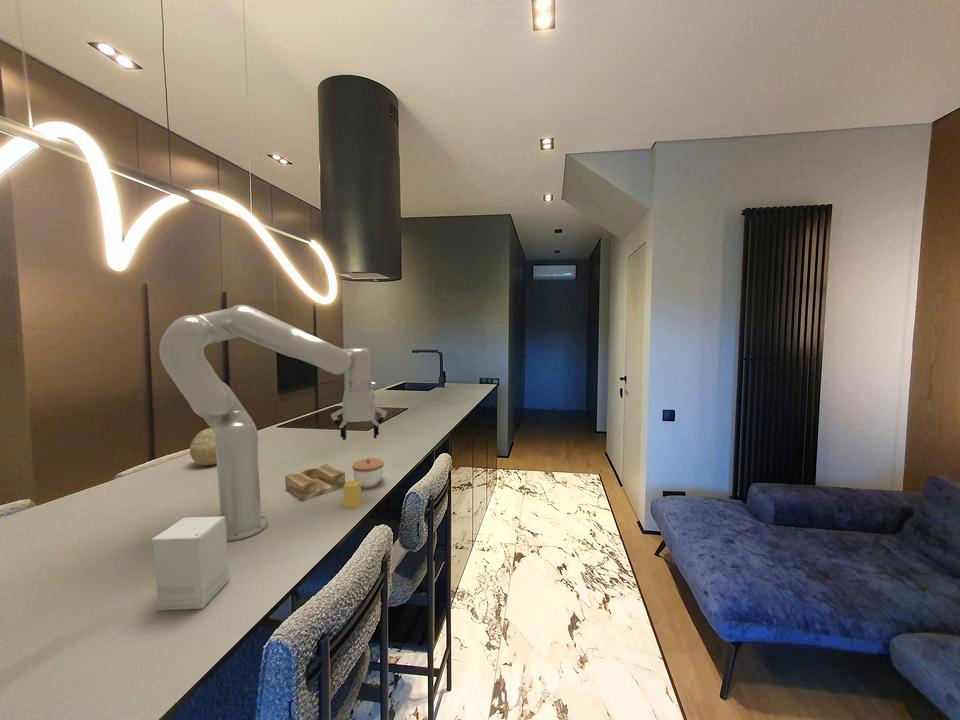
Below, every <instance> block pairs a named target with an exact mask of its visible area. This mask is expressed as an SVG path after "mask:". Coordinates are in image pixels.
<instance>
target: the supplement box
mask: <svg viewBox="0 0 960 720" xmlns="http://www.w3.org/2000/svg"><path fill="white" fill-rule="evenodd" d="M227 542H228V541H227V540H226V525H225V516H223V517H217V516H201V517H200V516H199V517H198V516H195V517H194V516H193V517H191V516H190V517H183V518H181V519H180V520H178V521H176V522H175V523H174V524H173V525H171V526H170V527H168V528H166V529H165V530H164V531H162V532H161V533H159V534H157V535H156V536H154V537H153V538H152V539H151V545H152V546H151V547H152V557H153V565H154V567H153V569H154V575H155V590H156V599H157V611H176V610H177V611H178V610H181V611H182V610H183V611H184V610H202V609H204V608H205V607H206V606H207V605H208V603H210V602H211V601H212V600H213V598H214V597H215V596H216V595H217V594H218V593H219V592H220V591H221V590H222V589H223V588H224V587H225V585H227V584H228V582H229V581H230V573H229V572H230V571H229V558H228V557H229V556H228V543H227Z"/></svg>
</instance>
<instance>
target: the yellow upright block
mask: <svg viewBox="0 0 960 720" xmlns="http://www.w3.org/2000/svg"><path fill="white" fill-rule="evenodd" d="M361 503H362V487H361V481H355V480H348V481H347V482H345V485H344V487H343V508H344V509H346V508H347V509H348V508H349V509H350V508H351V509H357V508H358V507H359V506H360V504H361Z"/></svg>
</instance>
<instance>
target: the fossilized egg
mask: <svg viewBox="0 0 960 720" xmlns="http://www.w3.org/2000/svg"><path fill="white" fill-rule="evenodd" d="M189 454H190V457H191V459H192V460H193V462H195V463H196V464H198V465H201V466H206V467H207V466H209V467H210V466H214V465H217V459H216V446H215V433H214V432H213V430H212V429H211V428H210V427H209V428H205V429H203V430H200V431H199V432H198V433H197V434H196V435H195V436H194V438H193V439H192V440H191V443H190V446H189Z"/></svg>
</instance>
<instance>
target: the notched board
mask: <svg viewBox="0 0 960 720" xmlns="http://www.w3.org/2000/svg"><path fill="white" fill-rule="evenodd" d="M284 479H285V491H286V492H289V494H291V495H292V496H294V497H295V498H297V499H298V500H300V501H301V502H305V501H307V500H310V499H312V498H317V497H318V496H321V495H324V494H327V493H330V492H333V491H337V490H339V489H340V490H341V489H342V488H344V485H345V484H346V472H344V471H342V470H341V469H339V468H336V467H334V466H333V465H331V464H328V463H325V464H323V465H319V466H314V467H312V468H308V469H305V470H301V471H298V472H294V473H291V474H290V473H289V474H287V475H284Z"/></svg>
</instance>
